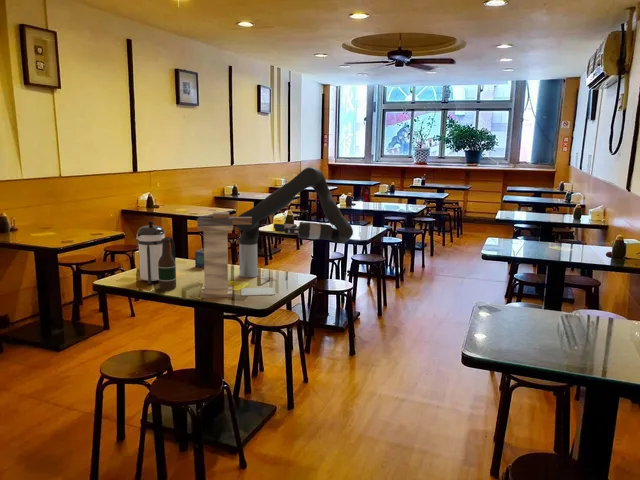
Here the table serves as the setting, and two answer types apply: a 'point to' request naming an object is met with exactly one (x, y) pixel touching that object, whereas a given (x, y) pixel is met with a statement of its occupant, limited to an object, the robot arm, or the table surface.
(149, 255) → the coffee press
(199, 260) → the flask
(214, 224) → the pedestal
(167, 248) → the beer bottle
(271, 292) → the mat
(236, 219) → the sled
